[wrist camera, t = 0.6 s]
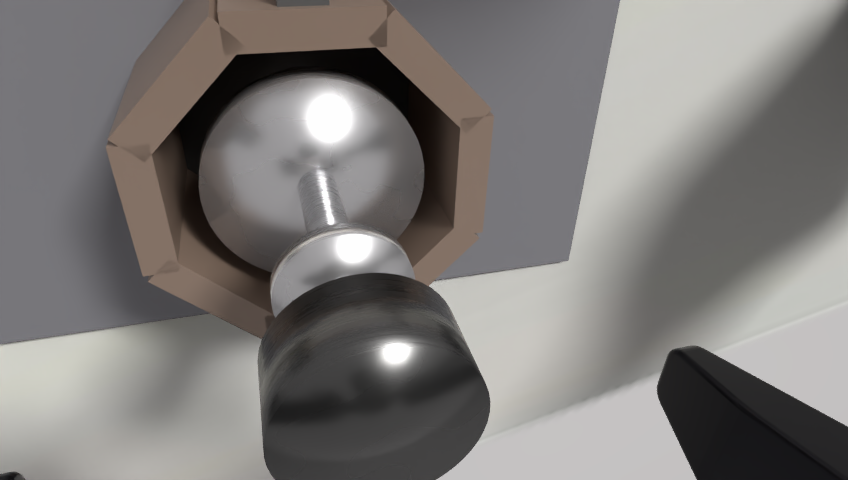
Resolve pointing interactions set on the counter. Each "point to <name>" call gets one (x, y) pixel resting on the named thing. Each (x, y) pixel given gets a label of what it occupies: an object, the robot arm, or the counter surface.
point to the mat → (103, 91)
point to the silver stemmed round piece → (340, 281)
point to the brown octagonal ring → (246, 62)
